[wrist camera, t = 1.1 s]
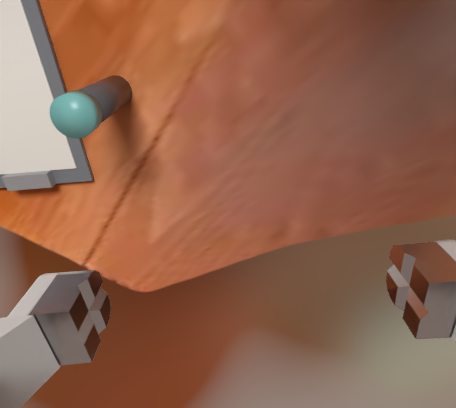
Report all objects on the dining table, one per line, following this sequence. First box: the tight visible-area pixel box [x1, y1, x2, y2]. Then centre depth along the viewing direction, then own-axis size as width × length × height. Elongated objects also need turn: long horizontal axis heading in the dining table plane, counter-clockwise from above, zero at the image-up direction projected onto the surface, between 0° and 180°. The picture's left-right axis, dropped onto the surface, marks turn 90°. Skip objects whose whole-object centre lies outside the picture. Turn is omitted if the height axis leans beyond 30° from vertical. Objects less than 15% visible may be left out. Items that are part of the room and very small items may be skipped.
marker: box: [50, 76, 132, 139], centre depth 33 cm, size 4×4×13 cm
